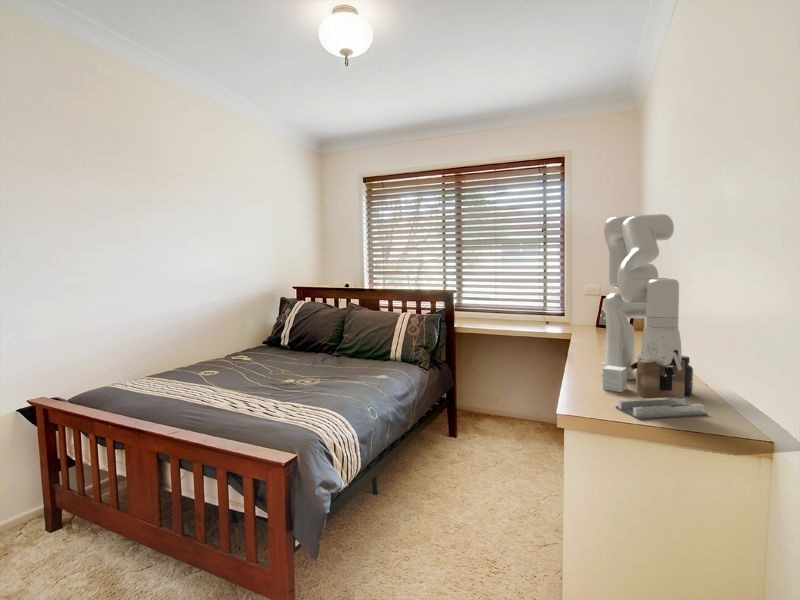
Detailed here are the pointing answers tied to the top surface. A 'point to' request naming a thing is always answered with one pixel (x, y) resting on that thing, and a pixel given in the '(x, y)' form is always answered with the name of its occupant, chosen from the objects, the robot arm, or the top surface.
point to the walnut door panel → (658, 380)
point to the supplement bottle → (688, 376)
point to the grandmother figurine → (635, 365)
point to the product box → (614, 378)
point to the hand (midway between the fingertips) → (660, 388)
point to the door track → (660, 408)
